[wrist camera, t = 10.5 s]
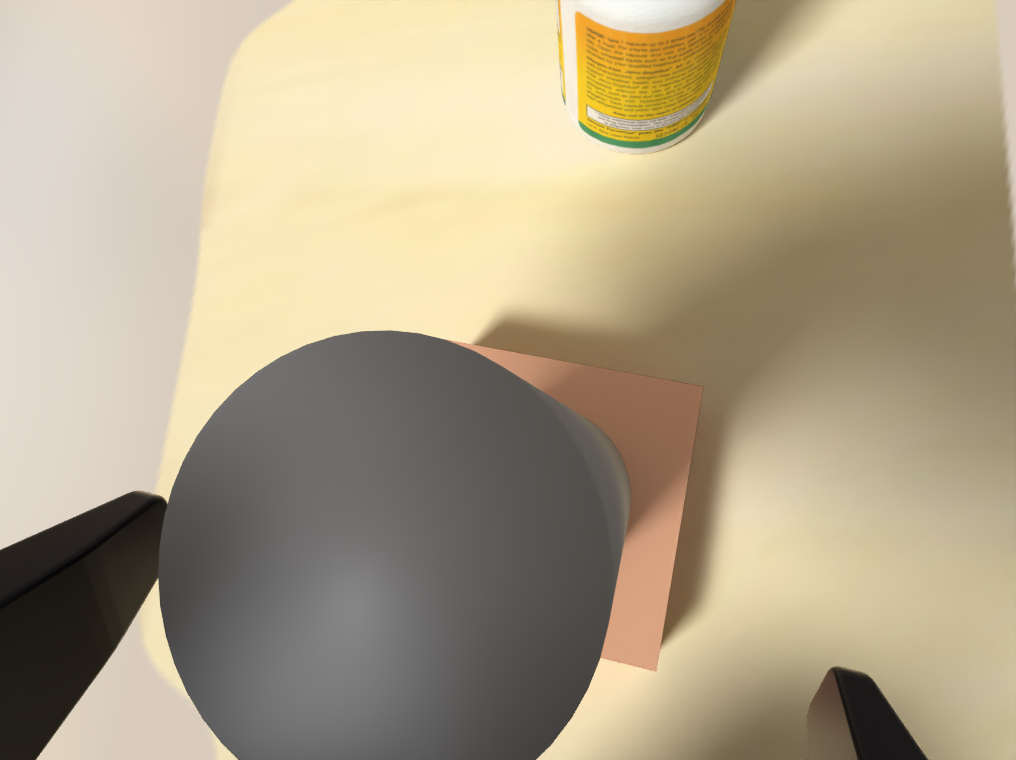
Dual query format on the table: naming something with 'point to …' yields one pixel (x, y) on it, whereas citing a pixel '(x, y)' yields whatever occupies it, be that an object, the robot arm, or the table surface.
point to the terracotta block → (631, 480)
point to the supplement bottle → (639, 68)
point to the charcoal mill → (391, 557)
